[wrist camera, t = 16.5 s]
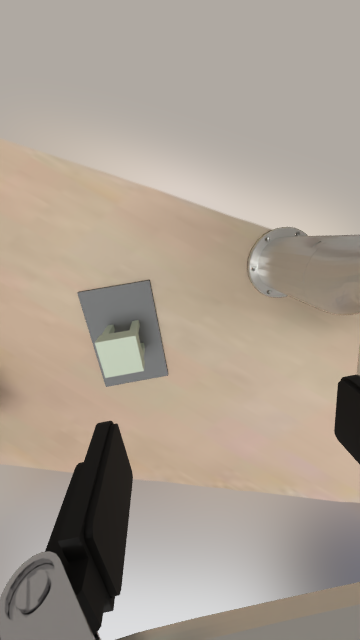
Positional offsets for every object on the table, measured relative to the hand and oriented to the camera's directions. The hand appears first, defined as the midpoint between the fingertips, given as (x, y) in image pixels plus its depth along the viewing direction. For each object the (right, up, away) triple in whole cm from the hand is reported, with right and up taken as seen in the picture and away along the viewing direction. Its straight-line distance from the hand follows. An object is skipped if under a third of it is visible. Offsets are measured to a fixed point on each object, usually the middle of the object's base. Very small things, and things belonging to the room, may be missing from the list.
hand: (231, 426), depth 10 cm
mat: (-13, +1, +37) cm, 39 cm away
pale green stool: (-12, +1, +36) cm, 38 cm away
